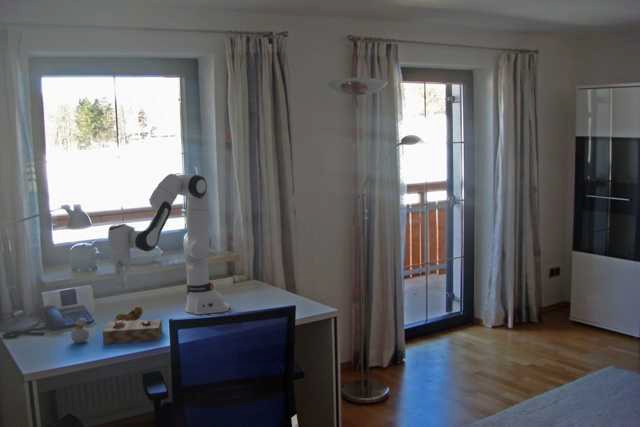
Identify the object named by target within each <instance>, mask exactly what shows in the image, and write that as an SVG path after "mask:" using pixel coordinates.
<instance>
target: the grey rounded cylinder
mask: <svg viewBox="0 0 640 427" xmlns="http://www.w3.org/2000/svg"><path fill="white" fill-rule="evenodd" d="M124 321H125V320H123V321H121V320H120V321H117V320H116V321H115V320H114V321H113V322H114V325H113V328H119V327H124V326H125V322H124Z"/></svg>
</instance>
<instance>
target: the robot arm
mask: <svg viewBox="0 0 640 427" xmlns="http://www.w3.org/2000/svg"><path fill="white" fill-rule="evenodd" d="M207 183H208V182H207V180H206V178H205V177H204V176H202V175H199V174H192V173H179V172H178V173H166V174H165V176H163V177H162V178H161V179H160V180H159V181H158V183H157V184H156V185H155V186H154V188H153V189H152V191H151V193H150V196H149V197H148V201H149V205H150V206H151V208H153V210H155V212H154V215H153V217H152V219H151V221H150V222H149V225H148V226H147V227H145V228H139V227H134V226H131V225H128V224H126V223H124V222H118V223H114V224H112V225H111V226H110V227H109V228H108V233H107V236H108V237H107V238H108V240H107V241H108V246H109V249H110V252H109V257H110V264H111V265H112V266H114V277H115V284H117V285H120V287H121V290H126V289H127V280H128V279H127V278H128V277H129V275H130V271H131V267H130V266H131V263H132V256H131V255H132V253H131V249H134V250H140V251H144V252H151V251H153V250H154V249H155V248H156V247H157V245H158V243H159V239H160V235H161V233H162V231H163V229H164V226H165V224H166V223H167V221H168V219H169V217H170V215H171V212H172V205H173V204H174V202H175V201H176V199H177V197H178V196H179V195H180V196H184V197H186V198H187V203H186V230H187V232H186V233H187V235H186V236H185V238H184V239H183V241H182V242H183V244H182V245H183V253H184V261H185V267H186V279H187V280H186V282H187V283H186V286H185V287H186V295H187V297H186V298H187V300H186V301H187V302H186V307H185V312H186V313H188V314H195V315H198V314H199V315H207V314H215V313H223V312H224V313H225V312H227V311H229V310H230V304H229V303H227V302H226V300H225V297H224V296H223V294H222V293H221V292H218V291H217V290H215V289H214V288H215V286H214V283H213V282H210V279H209V278H210V275H209V265H208V261H207V257H208V255H209V254H210V252H211V246H210V231H209V230H210V229H209V217H210V213H209V212H210V198H209V192H208V184H207Z"/></svg>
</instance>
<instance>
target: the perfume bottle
mask: <svg viewBox="0 0 640 427" xmlns="http://www.w3.org/2000/svg"><path fill="white" fill-rule="evenodd" d="M86 325H87V319H86V318H83V317H80V316H78V318H77V322H75V327H74V328H73V330H72V331H71V335H70V336H71V340H72V341H73V343H76V344H83V343H85V342H87V341H88V339H89V337H90V333H89V330H88V329H87V328H86V327H85V326H86Z"/></svg>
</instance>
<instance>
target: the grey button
mask: <svg viewBox="0 0 640 427" xmlns="http://www.w3.org/2000/svg"><path fill="white" fill-rule="evenodd" d="M150 325H152V323H151V321H143V322H142V325H141V326H150Z"/></svg>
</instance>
